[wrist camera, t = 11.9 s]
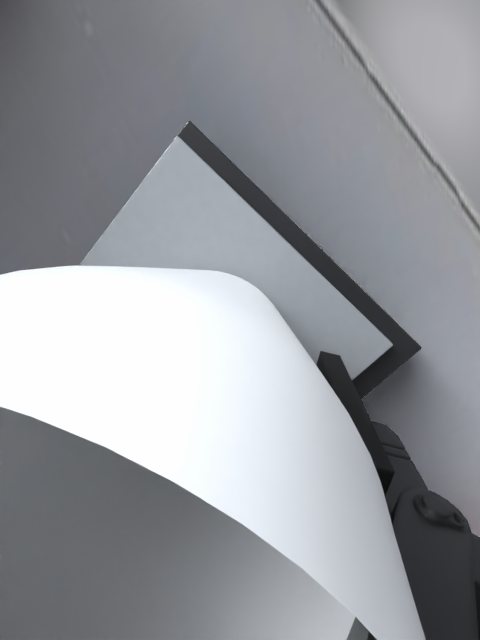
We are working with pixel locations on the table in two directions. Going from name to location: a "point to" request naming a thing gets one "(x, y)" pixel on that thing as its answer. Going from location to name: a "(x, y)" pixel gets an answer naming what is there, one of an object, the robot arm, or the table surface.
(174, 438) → the cup
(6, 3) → the table surface
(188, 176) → the scale
